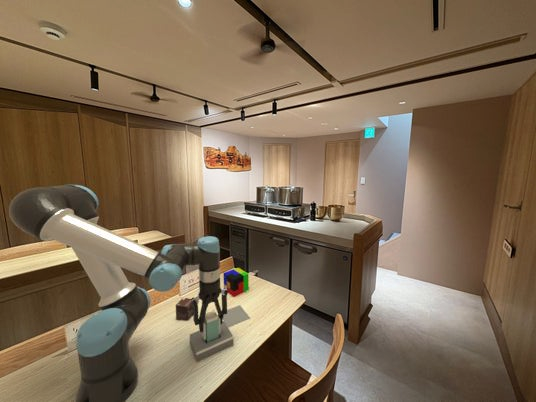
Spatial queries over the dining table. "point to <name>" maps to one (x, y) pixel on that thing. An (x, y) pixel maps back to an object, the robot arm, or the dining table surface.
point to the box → (184, 309)
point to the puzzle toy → (236, 281)
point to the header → (210, 343)
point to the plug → (211, 326)
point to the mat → (235, 316)
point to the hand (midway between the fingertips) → (211, 334)
